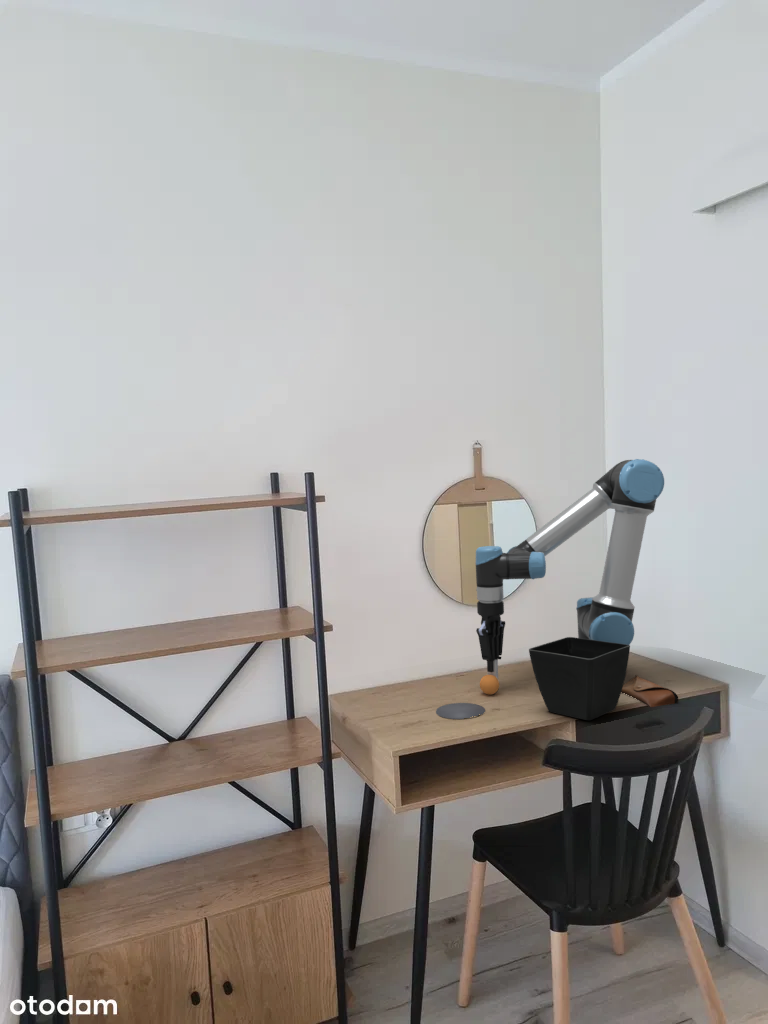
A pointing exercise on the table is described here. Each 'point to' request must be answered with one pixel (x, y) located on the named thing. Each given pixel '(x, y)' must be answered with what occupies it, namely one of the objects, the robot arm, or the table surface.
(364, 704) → the table surface
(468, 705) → the disc
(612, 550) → the robot arm
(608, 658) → the flower pot
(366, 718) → the table surface
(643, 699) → the sunglasses case
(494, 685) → the ball
